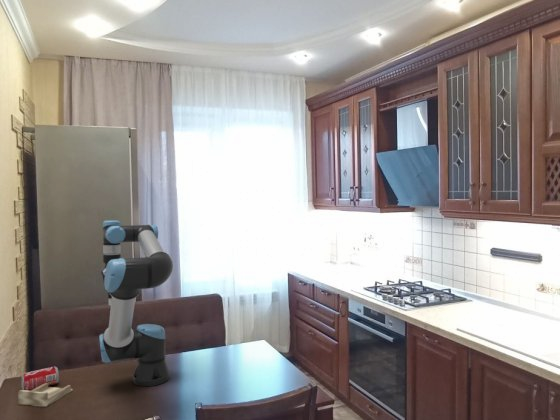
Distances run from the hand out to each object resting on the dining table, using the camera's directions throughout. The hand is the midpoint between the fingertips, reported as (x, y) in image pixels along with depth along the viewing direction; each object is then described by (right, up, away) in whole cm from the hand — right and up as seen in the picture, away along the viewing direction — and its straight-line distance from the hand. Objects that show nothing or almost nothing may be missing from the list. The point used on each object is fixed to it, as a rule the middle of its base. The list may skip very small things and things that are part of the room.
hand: (112, 304), depth 199 cm
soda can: (-17, -26, -16) cm, 35 cm away
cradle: (-14, -30, -29) cm, 44 cm away
